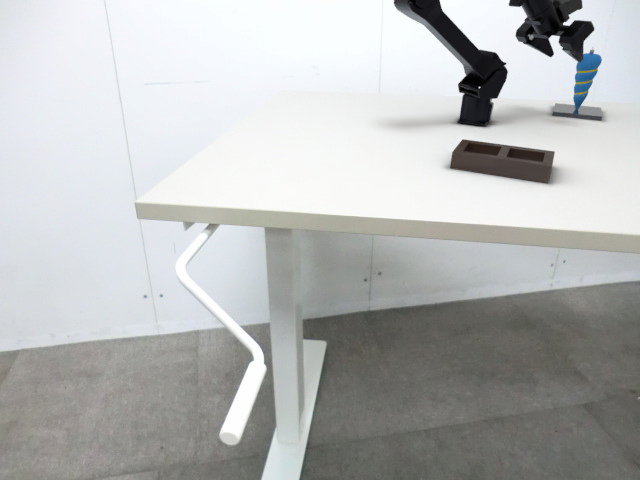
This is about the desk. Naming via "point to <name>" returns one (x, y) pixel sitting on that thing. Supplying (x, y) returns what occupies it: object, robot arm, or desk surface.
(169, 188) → the desk surface
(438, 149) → the desk surface
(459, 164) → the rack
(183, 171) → the desk surface
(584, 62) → the ornament
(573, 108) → the coaster
